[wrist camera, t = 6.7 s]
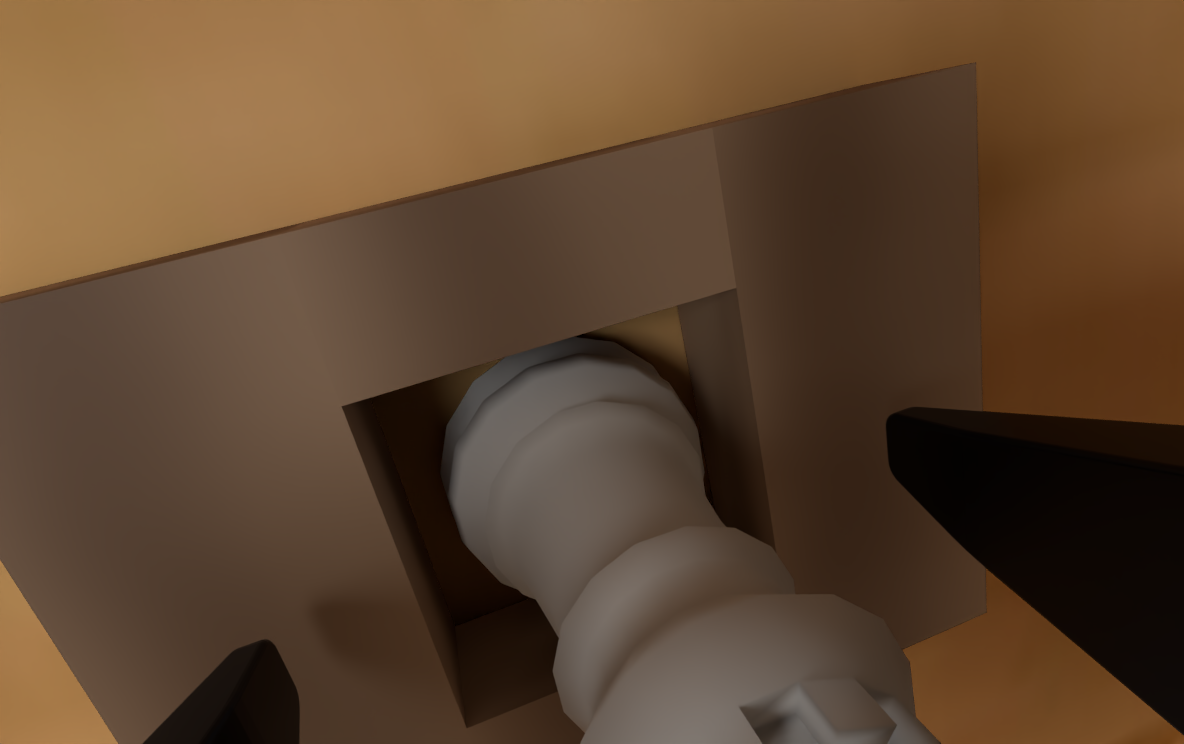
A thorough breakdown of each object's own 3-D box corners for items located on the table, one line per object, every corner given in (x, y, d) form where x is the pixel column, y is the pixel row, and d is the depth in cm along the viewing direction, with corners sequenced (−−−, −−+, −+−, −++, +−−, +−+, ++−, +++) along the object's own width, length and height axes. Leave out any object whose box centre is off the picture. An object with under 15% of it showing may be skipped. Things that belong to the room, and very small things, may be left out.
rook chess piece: (624, 287, 12) (1026, 478, 4) (703, 486, 13) (1093, 876, 6) (390, 401, 11) (376, 858, 4) (504, 594, 13) (654, 1182, 5)
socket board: (862, 85, 12) (976, 62, 9) (896, 546, 15) (986, 612, 13) (-3, 298, 9) (-142, 339, 7) (273, 797, 12) (243, 938, 10)
